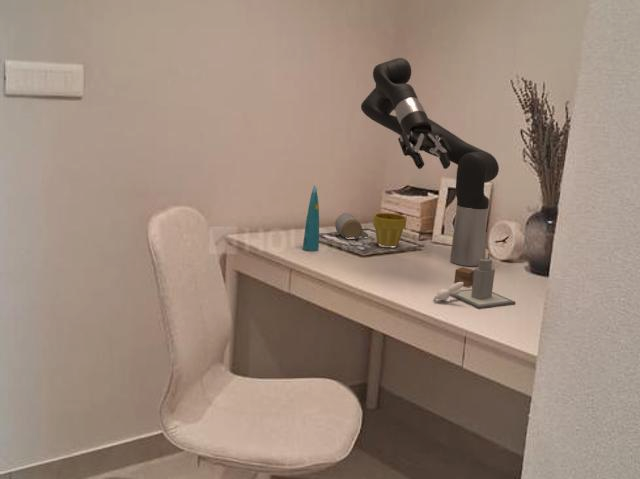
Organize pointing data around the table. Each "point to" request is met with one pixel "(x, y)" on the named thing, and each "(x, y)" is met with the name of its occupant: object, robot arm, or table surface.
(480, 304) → the pad
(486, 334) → the table surface
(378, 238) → the plant pot
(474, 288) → the power adapter
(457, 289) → the rabbit figurine
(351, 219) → the ceramic mug
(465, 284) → the walnut block
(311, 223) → the tube
